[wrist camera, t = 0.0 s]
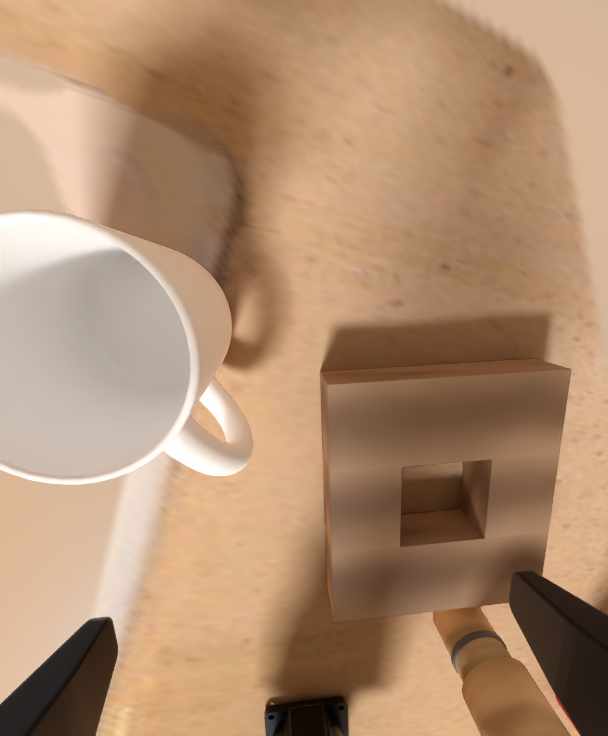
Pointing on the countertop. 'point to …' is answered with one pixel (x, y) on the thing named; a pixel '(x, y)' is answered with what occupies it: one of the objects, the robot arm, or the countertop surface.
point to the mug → (108, 354)
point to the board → (437, 446)
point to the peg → (494, 678)
